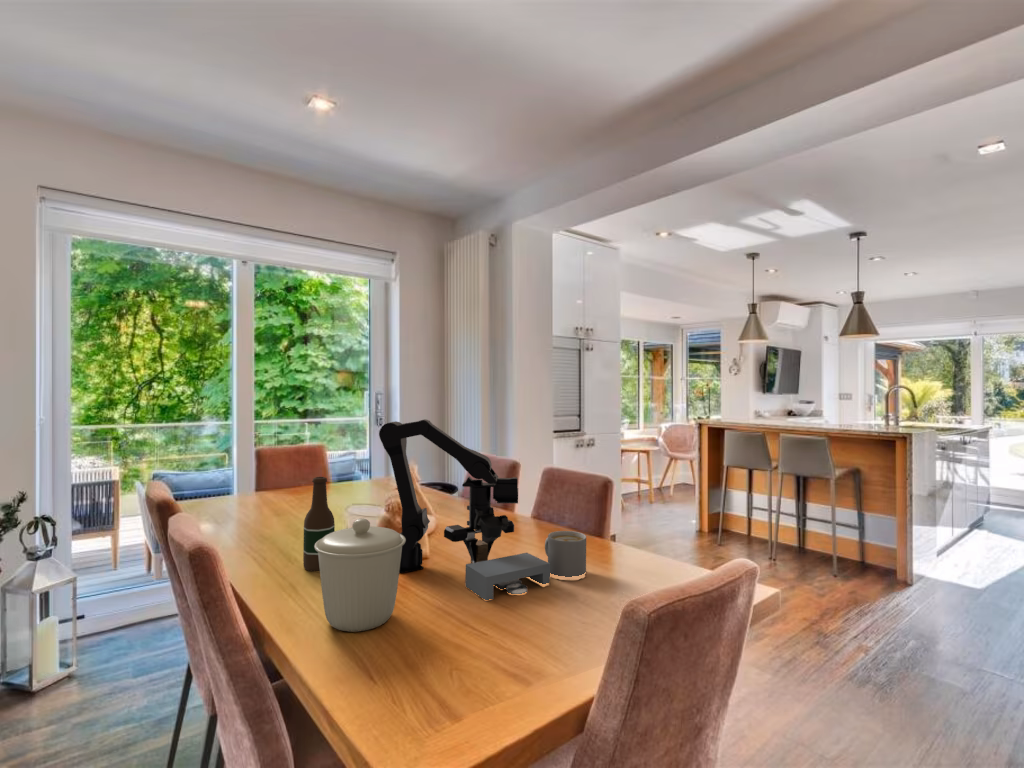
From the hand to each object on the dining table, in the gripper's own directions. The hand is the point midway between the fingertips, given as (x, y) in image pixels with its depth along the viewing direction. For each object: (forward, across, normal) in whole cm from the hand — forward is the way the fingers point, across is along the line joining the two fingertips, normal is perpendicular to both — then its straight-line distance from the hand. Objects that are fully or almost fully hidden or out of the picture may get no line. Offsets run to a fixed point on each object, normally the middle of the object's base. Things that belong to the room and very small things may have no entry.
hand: (479, 561), depth 140 cm
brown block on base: (+2, 0, -7) cm, 7 cm away
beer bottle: (+2, -36, +24) cm, 43 cm away
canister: (+2, -36, -14) cm, 39 cm away
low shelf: (+2, 0, -14) cm, 14 cm away
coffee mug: (+2, +18, -14) cm, 22 cm away
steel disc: (+2, 0, -18) cm, 18 cm away
